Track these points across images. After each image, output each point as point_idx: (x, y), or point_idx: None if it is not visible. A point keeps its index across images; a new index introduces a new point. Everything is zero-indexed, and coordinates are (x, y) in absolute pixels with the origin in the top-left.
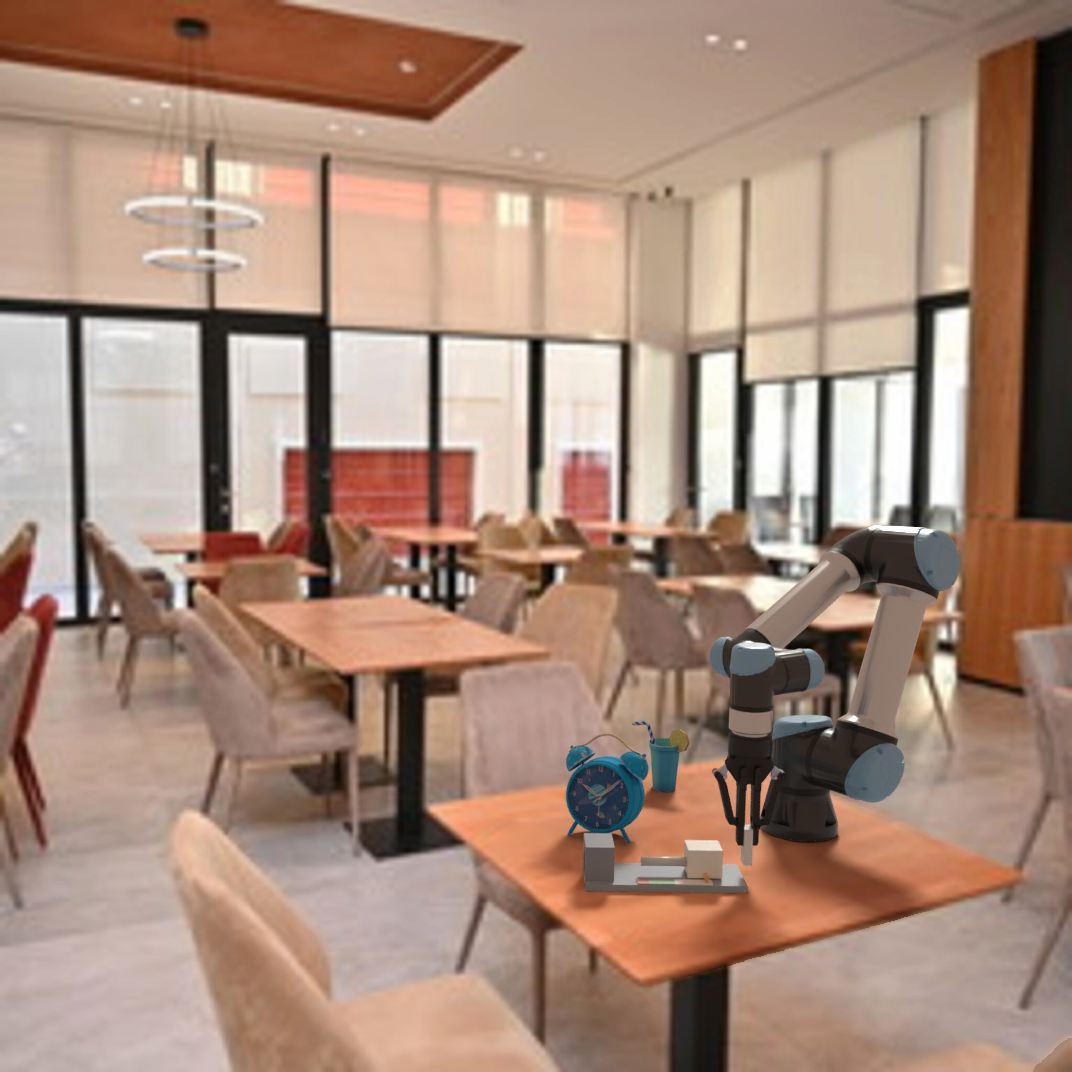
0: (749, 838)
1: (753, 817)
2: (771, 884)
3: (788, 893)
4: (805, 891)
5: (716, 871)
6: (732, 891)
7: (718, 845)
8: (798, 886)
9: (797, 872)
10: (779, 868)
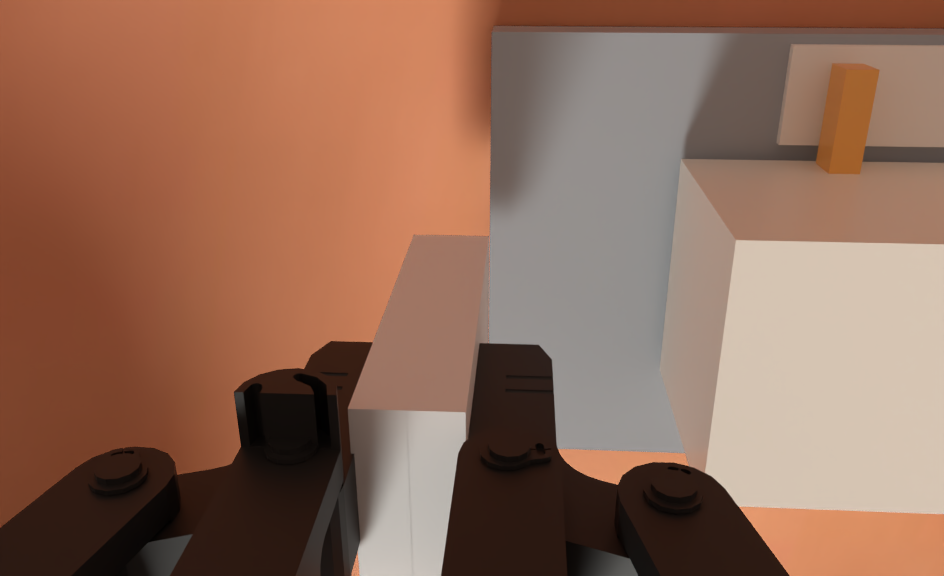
0: (412, 348)
1: (304, 530)
2: (283, 194)
3: (175, 28)
4: (45, 69)
5: (745, 176)
6: (617, 27)
7: (737, 381)
8: (91, 161)
9: (82, 390)
10: (195, 450)
